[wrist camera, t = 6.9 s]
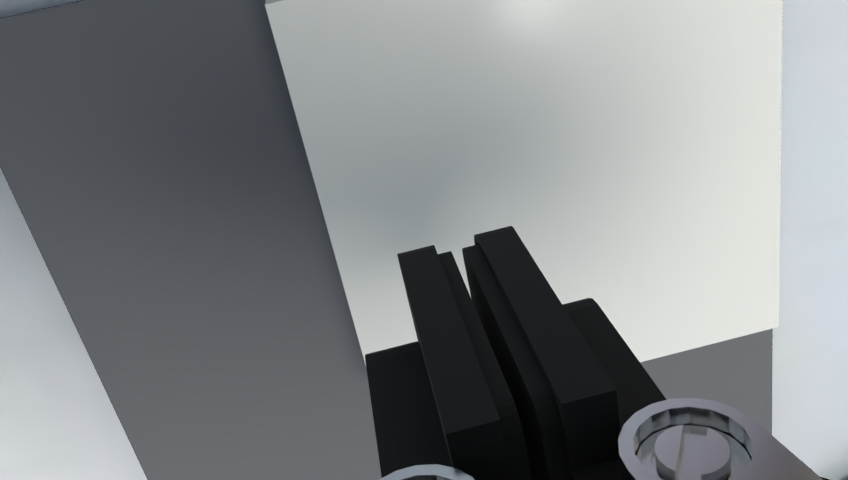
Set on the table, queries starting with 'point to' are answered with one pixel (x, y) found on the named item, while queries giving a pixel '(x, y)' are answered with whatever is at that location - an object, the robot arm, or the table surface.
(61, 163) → the mat
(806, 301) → the table surface
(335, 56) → the tile
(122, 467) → the table surface
